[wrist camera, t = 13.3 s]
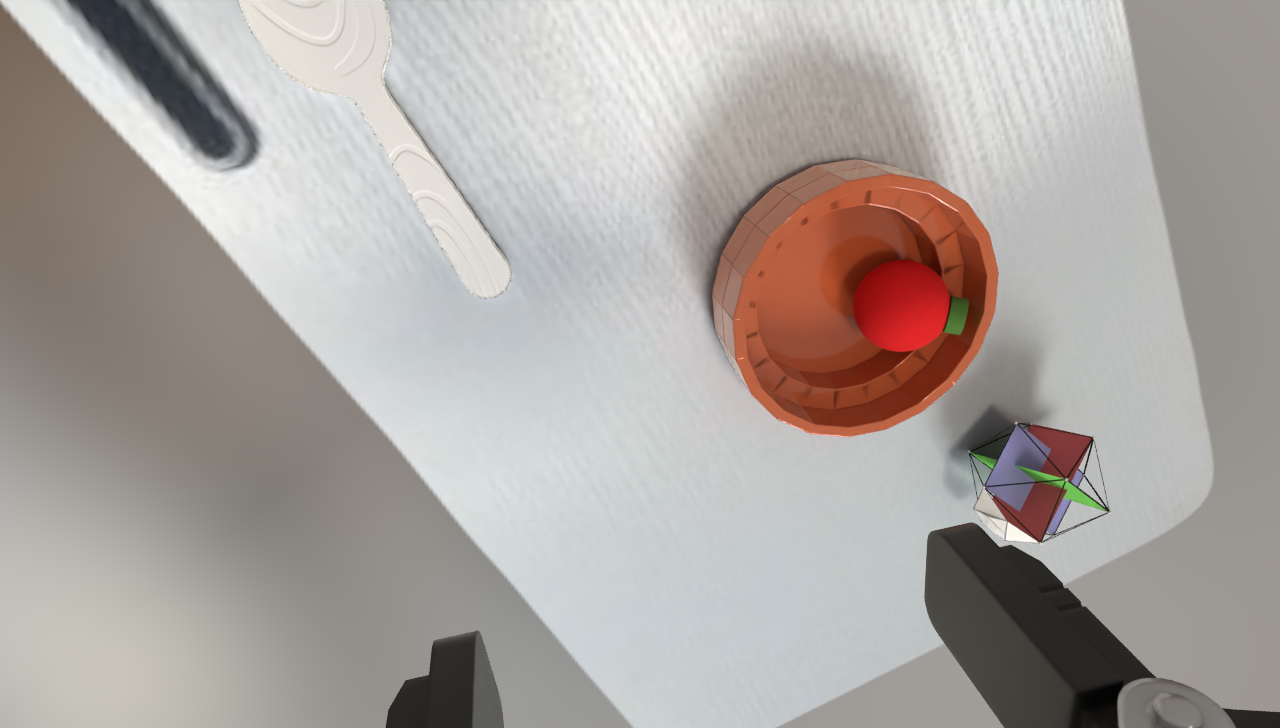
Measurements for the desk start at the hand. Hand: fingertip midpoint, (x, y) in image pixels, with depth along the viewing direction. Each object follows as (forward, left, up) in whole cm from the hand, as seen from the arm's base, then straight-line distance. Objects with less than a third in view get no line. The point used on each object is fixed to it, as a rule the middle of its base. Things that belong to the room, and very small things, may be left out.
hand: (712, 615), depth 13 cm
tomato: (+5, +13, -24) cm, 28 cm away
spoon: (-6, -7, -26) cm, 28 cm away
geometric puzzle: (+18, +24, -26) cm, 40 cm away
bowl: (+5, +13, -26) cm, 29 cm away
